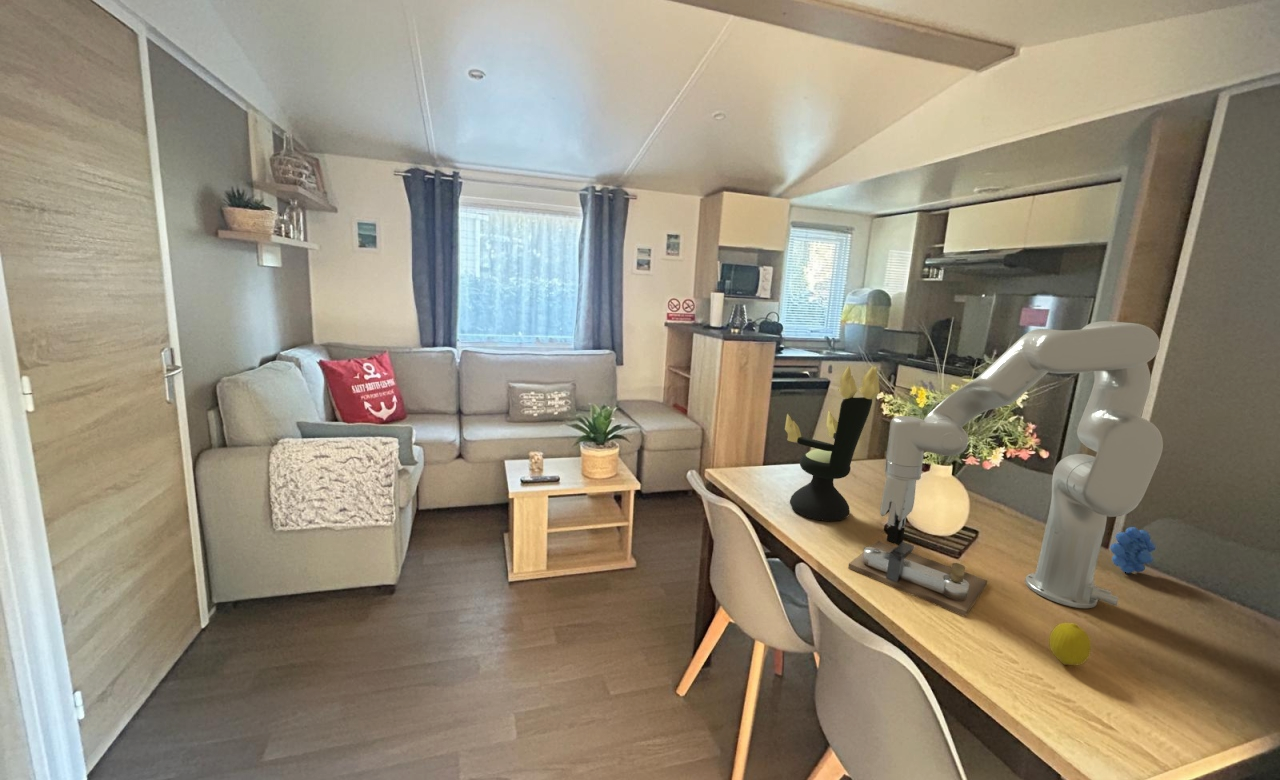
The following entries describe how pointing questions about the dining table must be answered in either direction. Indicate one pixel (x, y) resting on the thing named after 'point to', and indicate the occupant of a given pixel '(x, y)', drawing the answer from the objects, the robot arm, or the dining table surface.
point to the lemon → (1070, 643)
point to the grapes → (1132, 550)
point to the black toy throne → (833, 451)
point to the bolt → (919, 574)
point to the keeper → (898, 561)
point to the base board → (922, 592)
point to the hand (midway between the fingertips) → (894, 542)
